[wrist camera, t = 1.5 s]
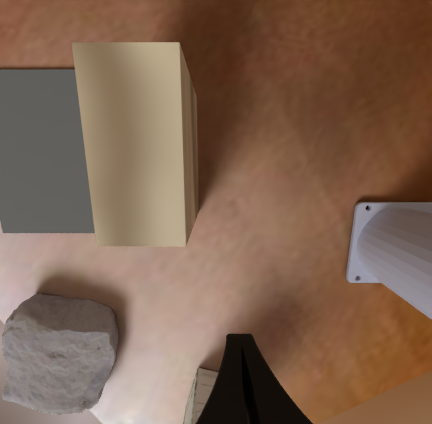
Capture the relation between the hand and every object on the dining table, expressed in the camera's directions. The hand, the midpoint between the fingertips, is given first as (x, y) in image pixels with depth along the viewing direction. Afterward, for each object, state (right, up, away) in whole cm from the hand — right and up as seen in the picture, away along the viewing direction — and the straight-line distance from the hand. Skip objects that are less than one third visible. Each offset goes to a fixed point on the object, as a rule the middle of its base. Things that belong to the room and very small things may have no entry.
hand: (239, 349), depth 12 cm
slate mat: (-15, +12, +8) cm, 21 cm away
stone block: (-17, -7, +13) cm, 22 cm away
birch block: (-5, +12, +8) cm, 16 cm away
